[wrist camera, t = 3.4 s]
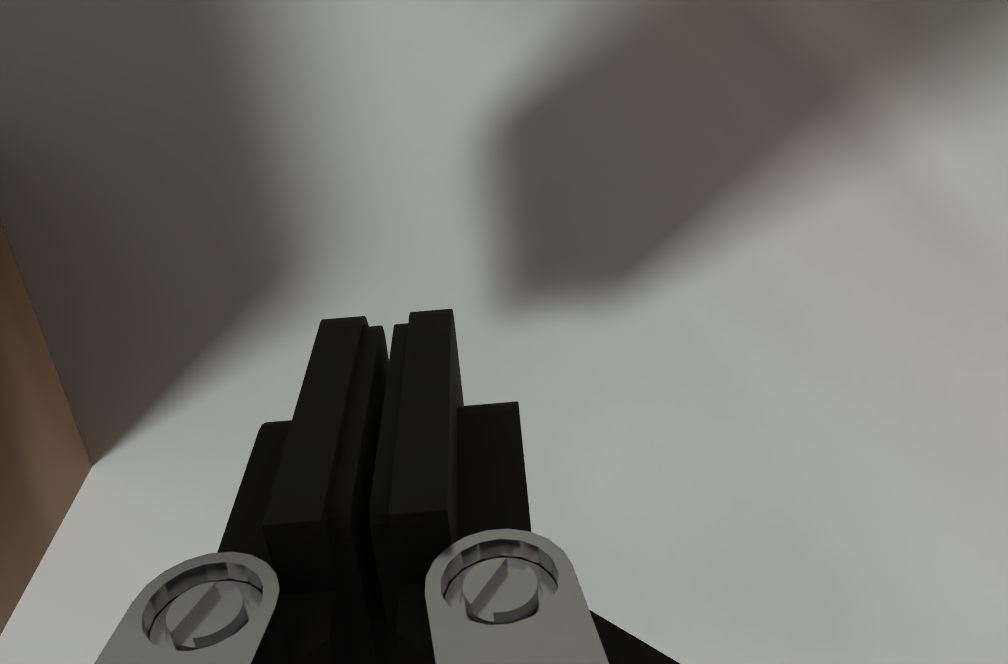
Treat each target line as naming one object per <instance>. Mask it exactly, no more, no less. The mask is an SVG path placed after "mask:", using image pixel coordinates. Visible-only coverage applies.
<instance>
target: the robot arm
mask: <svg viewBox="0 0 1008 664" xmlns="http://www.w3.org/2000/svg"><path fill="white" fill-rule="evenodd" d="M94 664H680V663H678V662H676V661H675V660H673V659H671V658H670V657H668V656H666V655H664V654H663V653H661V652H659V651H658V650H656V649H654V648H653V647H651V646H649V645H648V644H646V643H644V642H643V641H641V640H639V639H638V638H636V637H634V636H633V635H631V634H629V633H627V632H626V631H624V630H622V629H621V628H619V627H617V626H616V625H614V624H612V623H611V622H609V621H607V620H606V619H604V618H602V617H601V616H599V615H597V614H595V613H594V612H592V611H590V610H589V608H588V605H587V603H586V600H585V597H584V595H583V592H582V589H581V587H580V584H579V581H578V578H577V576H576V573H575V570H574V568H573V565H572V564H571V562H570V560H569V559H568V557H567V555H566V554H565V552H564V551H563V550H562V549H561V548H560V547H558V546H557V545H556V544H554V543H553V542H552V541H551V540H549V539H547V538H545V537H542V536H540V535H537V534H535V533H532V532H531V524H530V514H529V504H528V494H527V484H526V474H525V464H524V454H523V444H522V434H521V425H520V415H519V405H518V402H506V403H494V404H482V405H470V406H464V403H463V394H462V385H461V376H460V367H459V358H458V349H457V340H456V332H455V323H454V315H453V310H452V309H444V310H432V311H420V312H410V315H409V323H407V324H395V325H394V330H393V337H392V344H391V352H390V359H389V358H388V352H387V345H386V339H385V333H384V329H383V327H382V326H371V327H369V326H368V322H367V319H366V317H365V316H359V317H347V318H335V319H323V320H321V322H320V325H319V329H318V332H317V335H316V339H315V342H314V346H313V349H312V353H311V356H310V360H309V363H308V367H307V370H306V374H305V377H304V380H303V384H302V387H301V391H300V394H299V398H298V401H297V405H296V408H295V412H294V415H293V419H292V420H290V421H278V422H266V423H264V424H262V426H261V428H260V430H259V432H258V435H257V438H256V440H255V443H254V446H253V449H252V452H251V455H250V458H249V461H248V464H247V467H246V470H245V473H244V476H243V479H242V482H241V485H240V488H239V491H238V494H237V496H236V499H235V502H234V505H233V508H232V511H231V514H230V517H229V520H228V523H227V526H226V529H225V532H224V535H223V538H222V541H221V544H220V547H219V550H218V552H217V553H209V554H206V555H202V556H199V557H195V558H192V559H189V560H186V561H184V562H182V563H180V564H178V565H176V566H174V567H172V568H170V569H168V570H166V571H164V572H163V573H162V574H160V575H159V576H158V577H156V578H155V579H154V580H152V581H151V582H150V583H149V584H147V585H146V586H145V587H144V589H143V590H142V591H141V592H140V593H139V595H138V596H137V597H136V598H135V600H134V601H133V602H132V604H131V605H130V607H129V608H128V610H127V612H126V613H125V615H124V616H123V618H122V620H121V621H120V623H119V624H118V626H117V628H116V629H115V631H114V633H113V634H112V636H111V637H110V639H109V641H108V642H107V644H106V645H105V647H104V649H103V650H102V652H101V654H100V655H99V657H98V658H97V660H96V662H95V663H94Z"/></svg>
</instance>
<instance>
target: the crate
mask: <svg viewBox="0 0 1008 664" xmlns="http://www.w3.org/2000/svg"><path fill="white" fill-rule="evenodd" d="M91 468H92V465H91V462H90V460H89V457H88V454H87V451H86V449H85V446H84V443H83V441H82V438H81V435H80V433H79V430H78V427H77V425H76V422H75V419H74V417H73V414H72V411H71V408H70V406H69V403H68V400H67V398H66V395H65V392H64V390H63V387H62V384H61V382H60V379H59V376H58V373H57V371H56V368H55V365H54V363H53V360H52V357H51V355H50V352H49V349H48V347H47V344H46V341H45V339H44V336H43V333H42V330H41V328H40V325H39V322H38V320H37V317H36V314H35V312H34V309H33V306H32V304H31V301H30V298H29V296H28V293H27V290H26V287H25V285H24V282H23V279H22V277H21V274H20V271H19V269H18V266H17V263H16V261H15V258H14V255H13V252H12V250H11V247H10V244H9V242H8V239H7V236H6V234H5V231H4V228H3V226H2V223H1V220H0V635H1V633H2V631H3V629H4V627H5V626H6V624H7V622H8V620H9V618H10V616H11V615H12V613H13V611H14V609H15V607H16V605H17V604H18V602H19V600H20V598H21V596H22V594H23V593H24V591H25V589H26V587H27V585H28V583H29V582H30V580H31V578H32V576H33V574H34V572H35V571H36V569H37V567H38V565H39V563H40V561H41V560H42V558H43V556H44V554H45V552H46V550H47V548H48V547H49V545H50V543H51V541H52V539H53V537H54V536H55V534H56V532H57V530H58V528H59V526H60V525H61V523H62V521H63V519H64V517H65V515H66V514H67V512H68V510H69V508H70V506H71V504H72V503H73V501H74V499H75V497H76V495H77V493H78V492H79V490H80V488H81V486H82V484H83V482H84V481H85V479H86V477H87V475H88V473H89V471H90V469H91Z"/></svg>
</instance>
